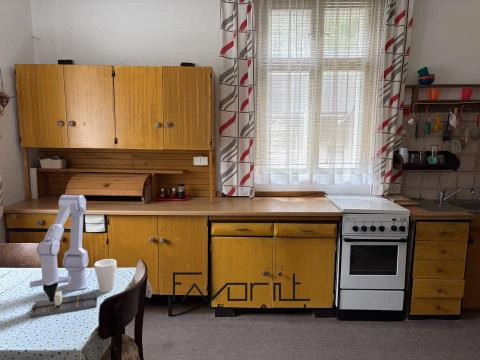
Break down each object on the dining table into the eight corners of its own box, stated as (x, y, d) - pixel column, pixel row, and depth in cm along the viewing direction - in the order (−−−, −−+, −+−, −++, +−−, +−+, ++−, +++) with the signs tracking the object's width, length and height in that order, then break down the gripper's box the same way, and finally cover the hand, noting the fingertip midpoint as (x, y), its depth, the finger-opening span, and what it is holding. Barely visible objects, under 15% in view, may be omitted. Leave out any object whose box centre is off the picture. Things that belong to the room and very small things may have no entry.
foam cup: (94, 295, 151) (92, 267, 150) (97, 286, 160) (95, 260, 158) (116, 292, 154) (115, 265, 152) (118, 284, 163) (117, 258, 161)
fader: (56, 300, 143) (56, 291, 142) (62, 299, 143) (61, 290, 143) (55, 305, 138) (54, 296, 138) (60, 304, 139) (60, 295, 138)
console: (36, 303, 143) (35, 299, 143) (97, 294, 152) (97, 290, 152) (30, 318, 132) (29, 313, 132) (96, 307, 141) (96, 302, 140)
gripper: (27, 275, 132) (29, 308, 133) (68, 270, 137) (70, 302, 139) (30, 269, 138) (33, 300, 140) (70, 264, 143) (72, 294, 145)
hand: (52, 300), depth 140 cm, fingers closed
